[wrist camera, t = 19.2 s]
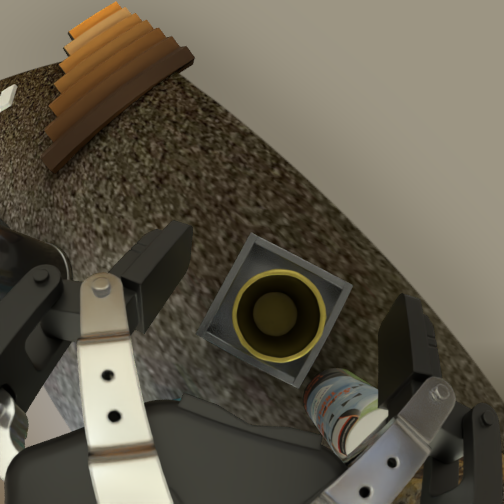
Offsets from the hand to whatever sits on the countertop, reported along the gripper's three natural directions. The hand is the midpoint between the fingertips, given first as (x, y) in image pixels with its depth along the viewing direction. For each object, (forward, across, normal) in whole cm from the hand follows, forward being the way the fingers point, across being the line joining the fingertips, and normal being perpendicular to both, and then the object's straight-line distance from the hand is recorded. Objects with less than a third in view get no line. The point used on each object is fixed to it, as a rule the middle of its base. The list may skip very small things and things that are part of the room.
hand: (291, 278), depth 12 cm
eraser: (+28, +54, +4) cm, 61 cm away
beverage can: (+9, -9, +21) cm, 24 cm away
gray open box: (+14, 0, +16) cm, 21 cm away
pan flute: (+21, +43, +5) cm, 48 cm away
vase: (+14, 0, +16) cm, 21 cm away
